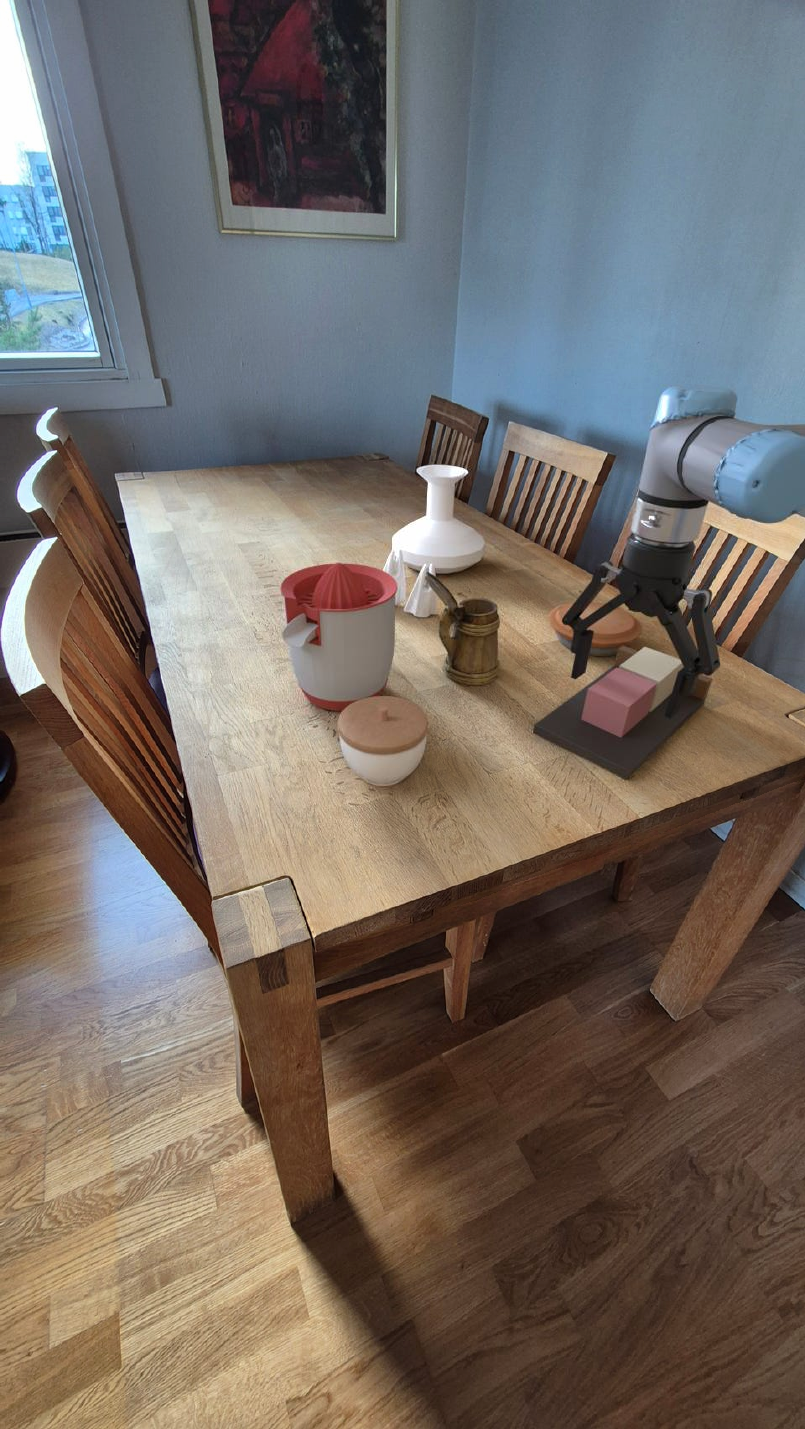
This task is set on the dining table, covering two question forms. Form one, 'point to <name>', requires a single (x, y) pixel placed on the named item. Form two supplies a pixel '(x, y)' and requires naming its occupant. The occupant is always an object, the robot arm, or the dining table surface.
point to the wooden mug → (468, 637)
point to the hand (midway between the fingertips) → (622, 693)
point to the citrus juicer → (340, 631)
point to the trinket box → (382, 738)
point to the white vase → (439, 528)
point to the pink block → (618, 701)
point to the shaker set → (421, 594)
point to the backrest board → (609, 748)
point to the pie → (599, 629)
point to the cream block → (654, 671)
